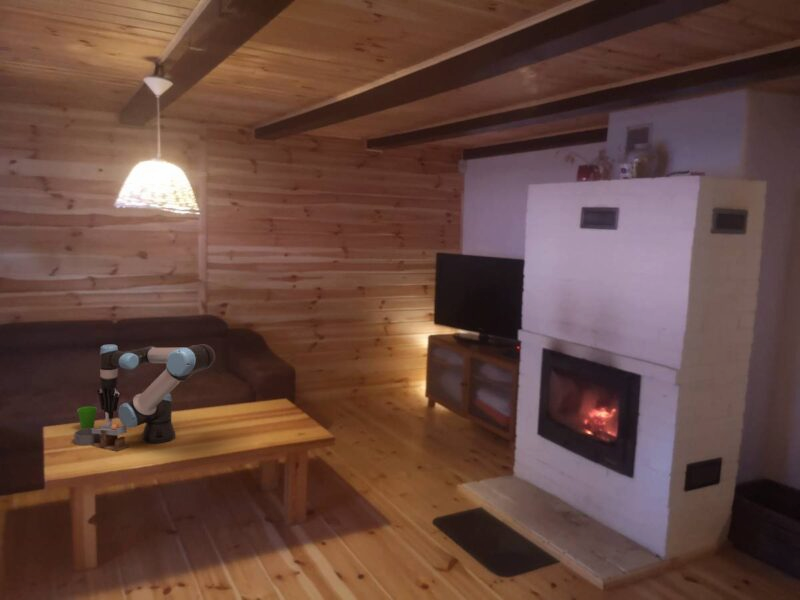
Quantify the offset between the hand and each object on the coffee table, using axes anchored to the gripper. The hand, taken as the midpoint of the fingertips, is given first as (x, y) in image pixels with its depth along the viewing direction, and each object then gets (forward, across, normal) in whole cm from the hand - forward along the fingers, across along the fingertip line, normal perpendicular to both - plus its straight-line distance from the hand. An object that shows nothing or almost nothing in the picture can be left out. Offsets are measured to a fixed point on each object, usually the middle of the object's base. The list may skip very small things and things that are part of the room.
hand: (108, 424), depth 303 cm
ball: (-2, -10, +6) cm, 13 cm away
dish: (+7, +6, +6) cm, 12 cm away
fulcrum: (+7, -7, +6) cm, 12 cm away
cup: (+8, +19, -4) cm, 21 cm away
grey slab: (+1, -7, +3) cm, 8 cm away
